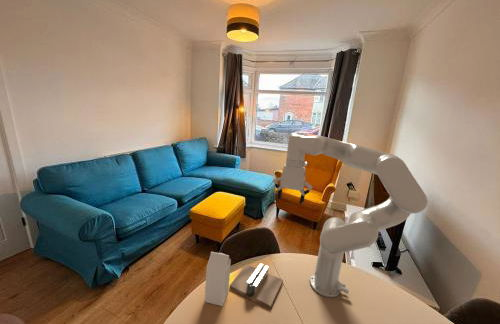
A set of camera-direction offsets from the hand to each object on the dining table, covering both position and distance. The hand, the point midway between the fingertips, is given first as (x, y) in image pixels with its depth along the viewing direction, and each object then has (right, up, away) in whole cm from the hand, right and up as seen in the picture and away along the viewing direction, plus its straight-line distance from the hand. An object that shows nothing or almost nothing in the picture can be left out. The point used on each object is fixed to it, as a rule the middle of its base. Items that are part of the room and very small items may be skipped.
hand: (290, 200), depth 93 cm
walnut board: (-15, -35, -5) cm, 38 cm away
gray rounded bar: (-15, -34, -6) cm, 37 cm away
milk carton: (-31, -35, -12) cm, 48 cm away
